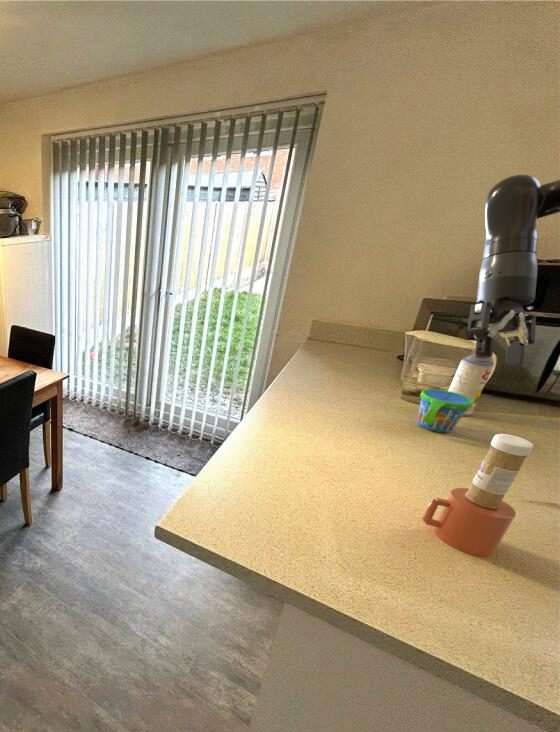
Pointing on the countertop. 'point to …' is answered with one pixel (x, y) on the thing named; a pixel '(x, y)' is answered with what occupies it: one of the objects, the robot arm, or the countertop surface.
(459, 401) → the snack cup
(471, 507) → the upturned cup
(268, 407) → the countertop surface
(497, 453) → the brown spice jar
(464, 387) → the aerosol can
